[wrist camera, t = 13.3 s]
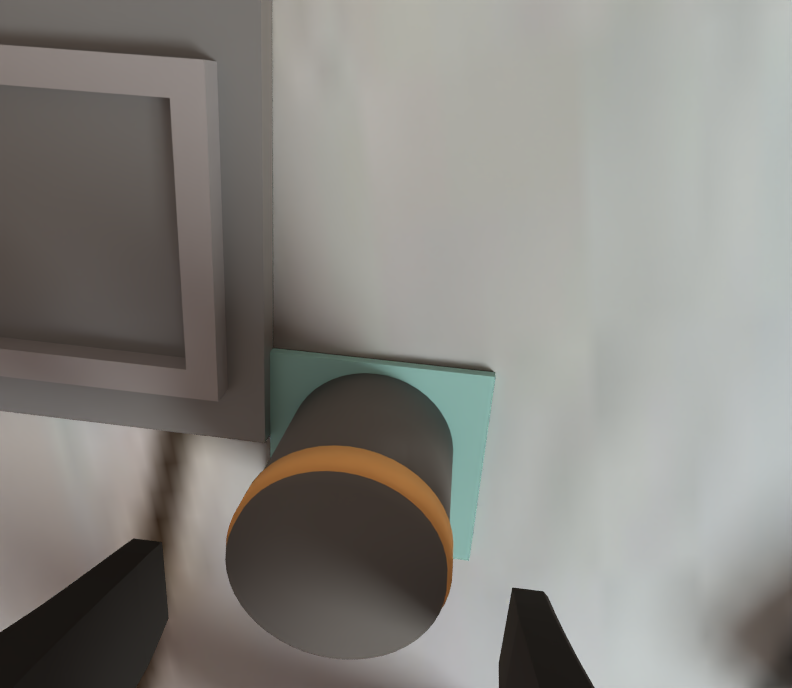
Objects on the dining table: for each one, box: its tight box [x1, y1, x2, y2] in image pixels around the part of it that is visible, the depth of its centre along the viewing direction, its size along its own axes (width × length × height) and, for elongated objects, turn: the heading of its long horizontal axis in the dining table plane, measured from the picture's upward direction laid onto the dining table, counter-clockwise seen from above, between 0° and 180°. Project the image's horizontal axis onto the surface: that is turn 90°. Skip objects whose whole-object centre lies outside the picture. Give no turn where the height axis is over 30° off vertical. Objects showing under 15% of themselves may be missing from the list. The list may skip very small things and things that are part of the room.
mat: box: [270, 348, 495, 561], centre depth 18 cm, size 6×6×1 cm
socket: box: [0, 0, 273, 443], centre depth 13 cm, size 9×14×6 cm, turn 176°
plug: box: [225, 373, 453, 659], centre depth 15 cm, size 5×5×5 cm
